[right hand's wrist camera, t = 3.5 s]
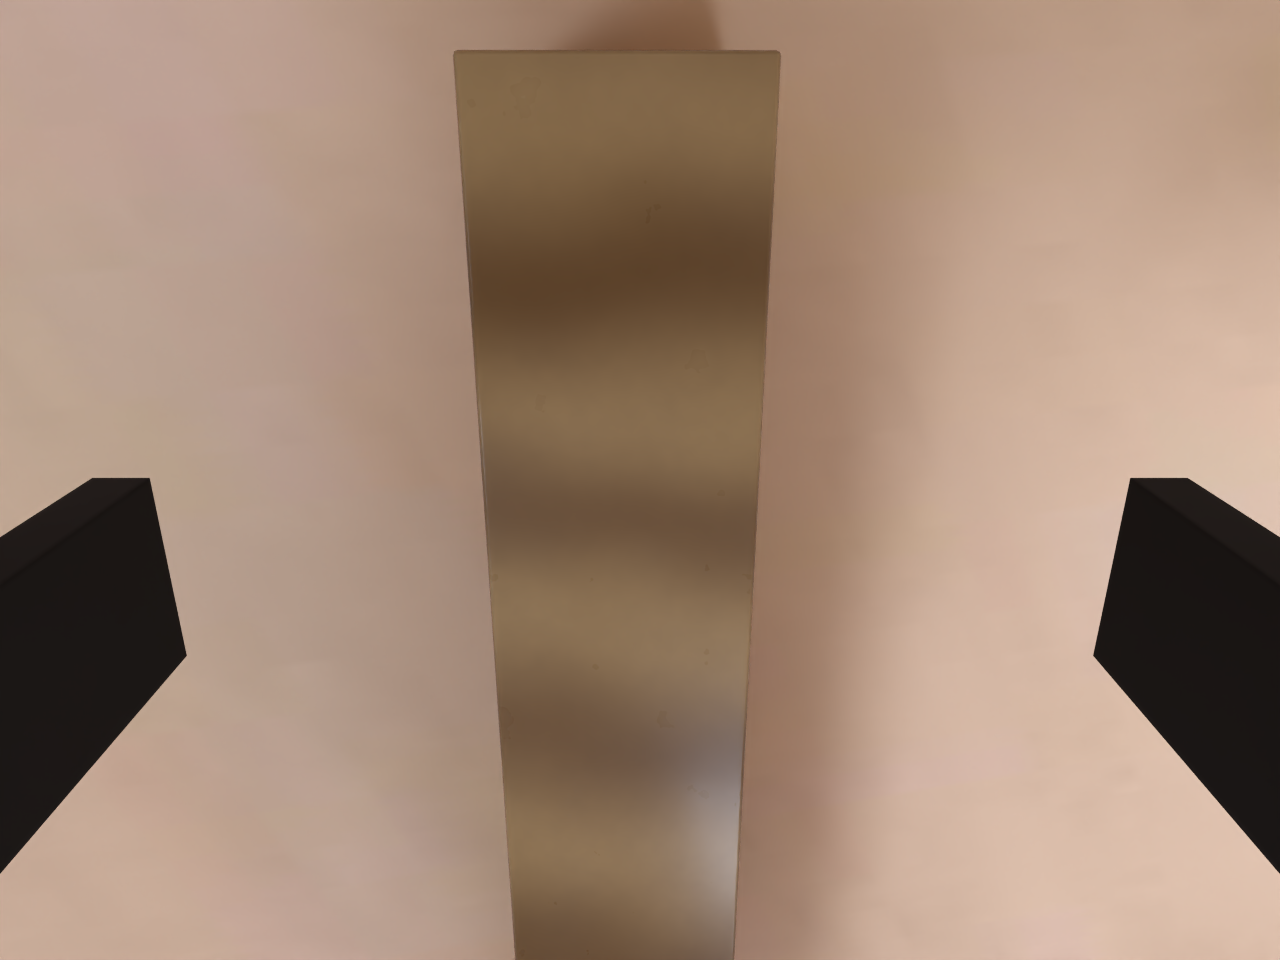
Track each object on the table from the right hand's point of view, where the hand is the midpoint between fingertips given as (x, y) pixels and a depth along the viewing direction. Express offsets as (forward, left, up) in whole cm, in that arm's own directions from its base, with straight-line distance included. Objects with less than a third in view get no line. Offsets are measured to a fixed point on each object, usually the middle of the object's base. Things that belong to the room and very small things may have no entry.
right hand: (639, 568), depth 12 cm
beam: (+18, 0, -14) cm, 23 cm away
